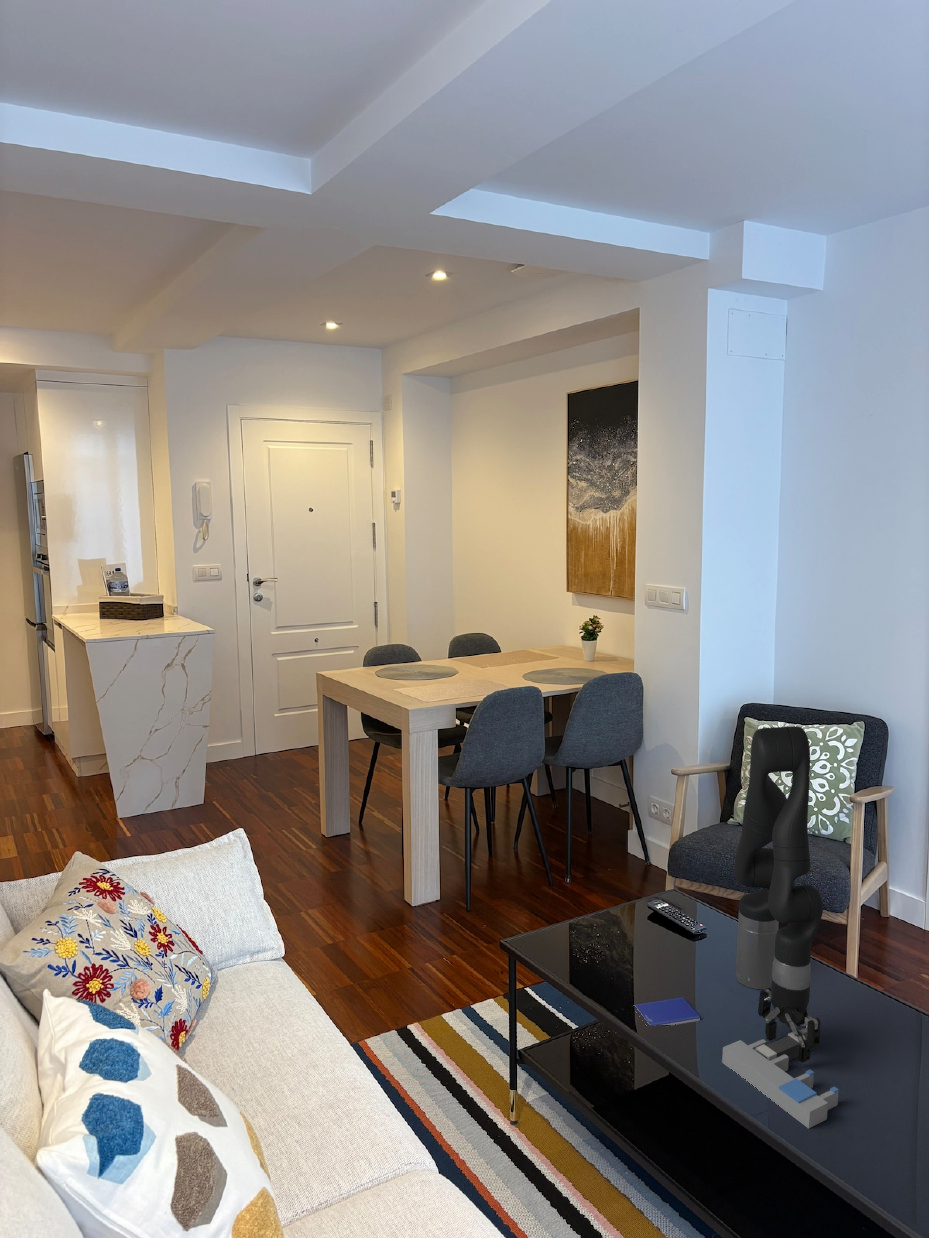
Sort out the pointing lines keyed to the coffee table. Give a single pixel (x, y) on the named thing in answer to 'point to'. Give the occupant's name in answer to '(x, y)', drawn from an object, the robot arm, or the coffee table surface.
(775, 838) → the robot arm
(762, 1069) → the pronged holder rack
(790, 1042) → the dark grey capped bar
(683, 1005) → the hard drive
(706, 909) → the coffee table surface
